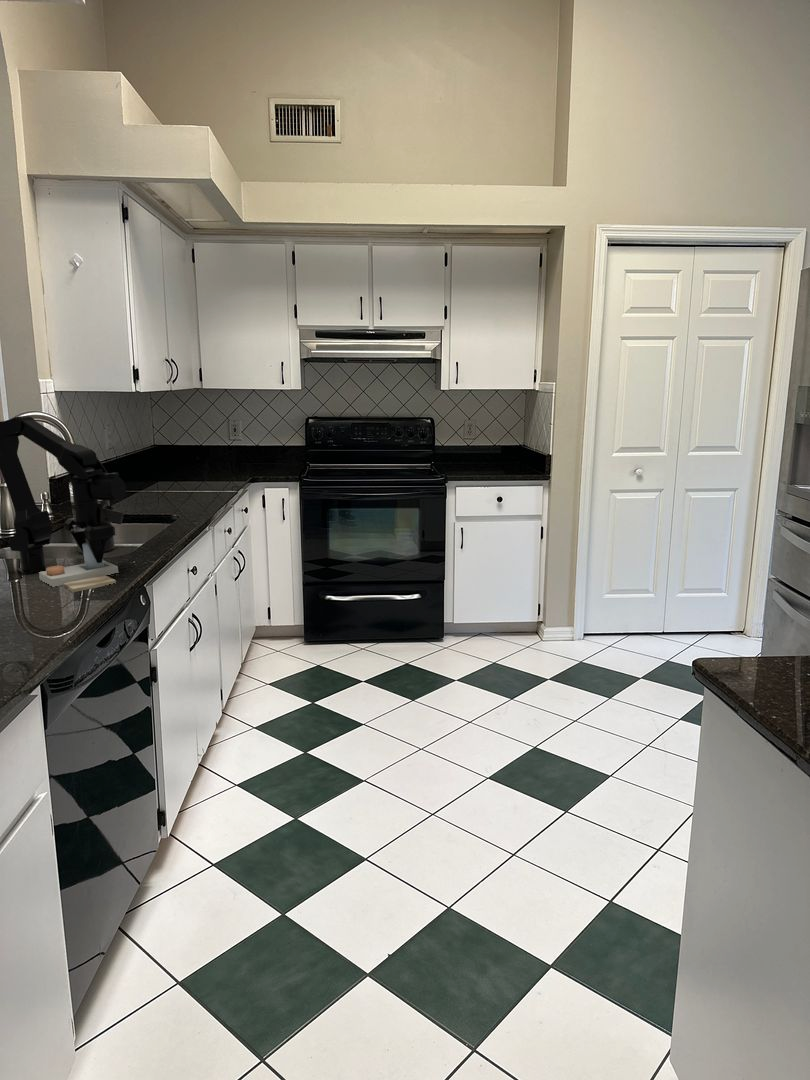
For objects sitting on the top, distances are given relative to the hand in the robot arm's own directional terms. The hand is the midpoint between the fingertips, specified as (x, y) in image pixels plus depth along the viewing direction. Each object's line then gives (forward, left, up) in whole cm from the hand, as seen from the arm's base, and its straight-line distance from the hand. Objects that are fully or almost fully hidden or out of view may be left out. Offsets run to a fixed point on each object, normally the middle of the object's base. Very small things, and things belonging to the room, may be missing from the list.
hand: (93, 560), depth 192 cm
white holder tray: (0, -4, -4) cm, 5 cm away
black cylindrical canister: (-26, +10, -4) cm, 29 cm away
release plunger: (0, -9, -3) cm, 10 cm away
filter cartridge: (0, 0, -4) cm, 4 cm away
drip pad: (+10, -5, -4) cm, 12 cm away
